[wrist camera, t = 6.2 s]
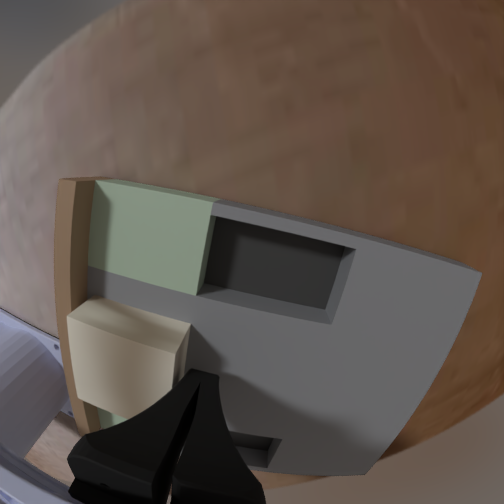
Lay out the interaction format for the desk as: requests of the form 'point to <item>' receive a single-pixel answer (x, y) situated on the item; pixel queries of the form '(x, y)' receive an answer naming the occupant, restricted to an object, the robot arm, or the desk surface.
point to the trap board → (267, 315)
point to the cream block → (124, 355)
